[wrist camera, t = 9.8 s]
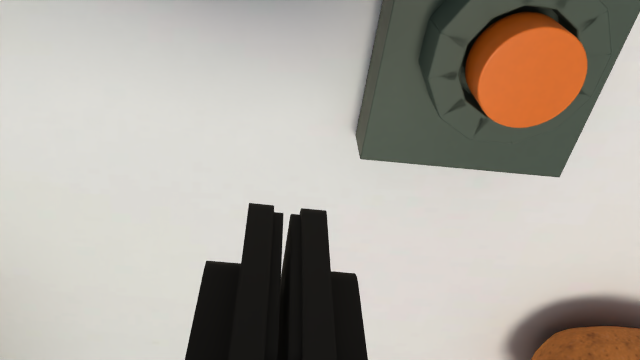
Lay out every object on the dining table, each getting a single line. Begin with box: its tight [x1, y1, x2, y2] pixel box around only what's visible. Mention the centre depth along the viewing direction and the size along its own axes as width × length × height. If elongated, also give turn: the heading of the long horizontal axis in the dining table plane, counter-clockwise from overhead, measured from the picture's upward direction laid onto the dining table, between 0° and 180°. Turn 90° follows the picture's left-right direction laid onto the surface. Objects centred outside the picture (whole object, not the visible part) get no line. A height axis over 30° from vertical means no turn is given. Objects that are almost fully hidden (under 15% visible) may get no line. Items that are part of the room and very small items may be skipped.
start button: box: [465, 12, 587, 128], centre depth 20 cm, size 4×4×2 cm
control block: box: [356, 0, 640, 177], centre depth 22 cm, size 12×10×4 cm
